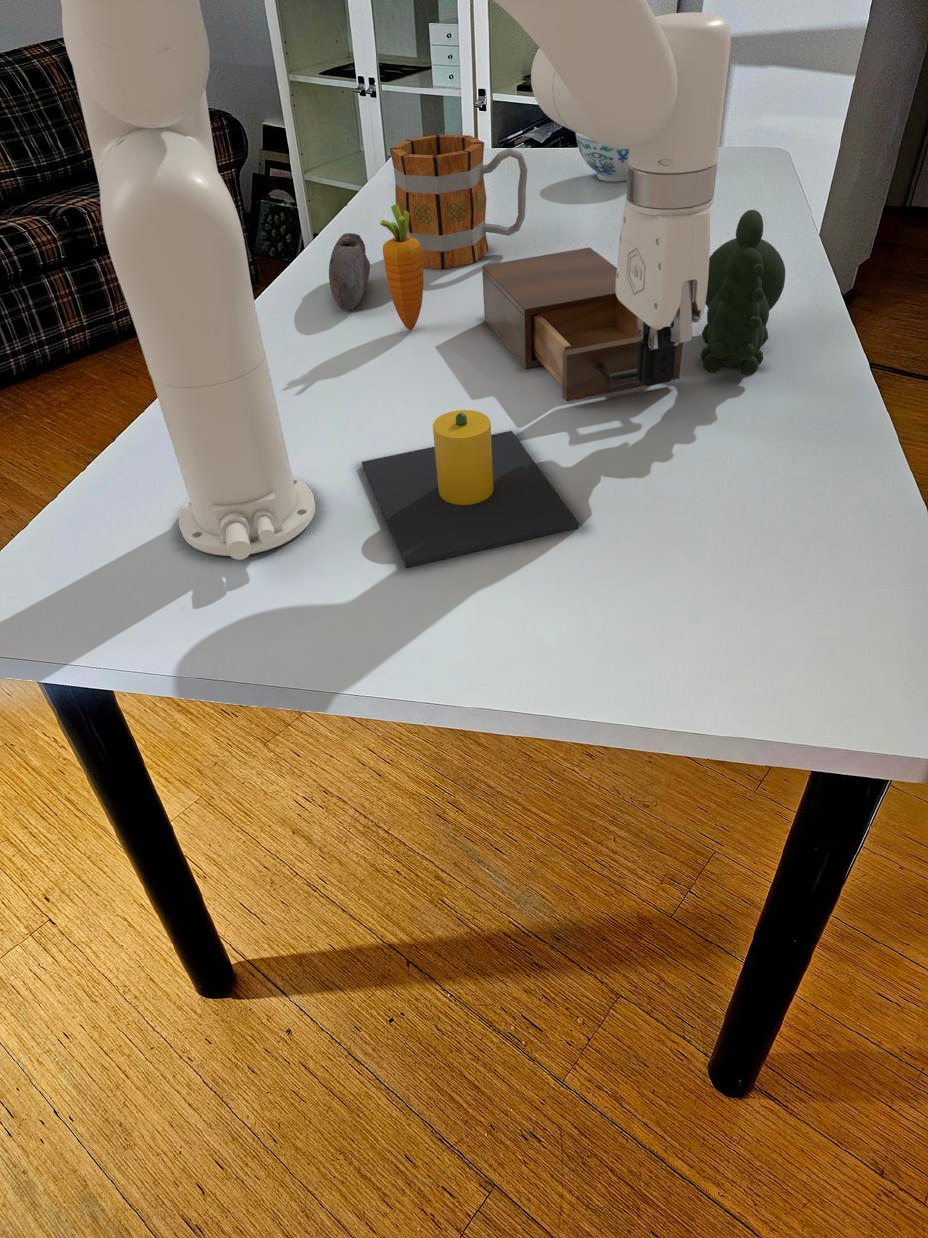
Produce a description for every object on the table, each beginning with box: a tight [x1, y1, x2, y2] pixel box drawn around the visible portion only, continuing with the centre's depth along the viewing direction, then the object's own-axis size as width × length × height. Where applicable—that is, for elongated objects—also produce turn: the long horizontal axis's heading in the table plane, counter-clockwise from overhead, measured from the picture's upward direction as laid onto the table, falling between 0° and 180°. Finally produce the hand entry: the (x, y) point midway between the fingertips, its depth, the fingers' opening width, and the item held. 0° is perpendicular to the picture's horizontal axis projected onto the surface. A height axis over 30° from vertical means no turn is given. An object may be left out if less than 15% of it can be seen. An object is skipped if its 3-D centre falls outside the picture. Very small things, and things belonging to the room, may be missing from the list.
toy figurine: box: [699, 209, 786, 376], centre depth 99 cm, size 9×19×25 cm
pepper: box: [432, 409, 493, 505], centre depth 81 cm, size 5×5×8 cm
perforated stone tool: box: [328, 232, 371, 312], centre depth 122 cm, size 15×5×7 cm, turn 178°
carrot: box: [379, 204, 425, 331], centre depth 110 cm, size 5×5×15 cm
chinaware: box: [575, 132, 629, 183], centre depth 159 cm, size 15×15×8 cm
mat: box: [361, 430, 579, 568], centre depth 84 cm, size 18×16×1 cm
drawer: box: [531, 299, 684, 402], centre depth 99 cm, size 19×13×5 cm
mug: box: [389, 134, 529, 270], centre depth 131 cm, size 20×14×15 cm
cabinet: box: [481, 246, 618, 369], centre depth 109 cm, size 16×15×7 cm
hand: (654, 380), depth 89 cm, fingers closed
